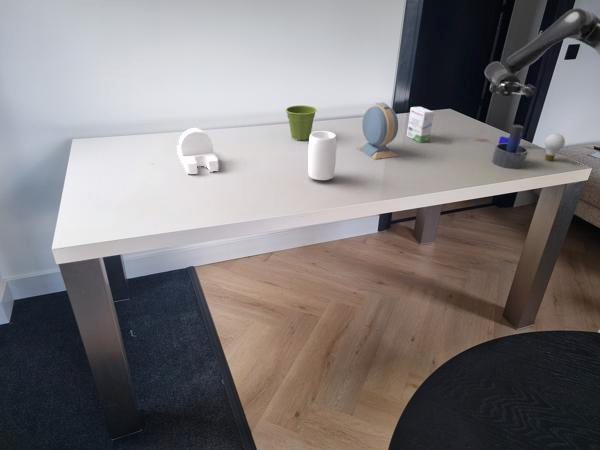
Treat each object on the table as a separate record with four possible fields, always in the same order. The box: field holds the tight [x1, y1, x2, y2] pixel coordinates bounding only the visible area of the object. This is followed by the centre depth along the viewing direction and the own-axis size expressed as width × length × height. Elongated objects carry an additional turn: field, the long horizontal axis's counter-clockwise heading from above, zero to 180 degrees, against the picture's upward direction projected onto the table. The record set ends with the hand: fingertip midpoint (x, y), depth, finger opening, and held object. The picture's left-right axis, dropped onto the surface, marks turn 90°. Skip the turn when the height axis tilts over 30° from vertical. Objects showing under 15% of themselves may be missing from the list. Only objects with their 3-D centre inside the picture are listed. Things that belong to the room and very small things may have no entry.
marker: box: [506, 124, 524, 153], centre depth 144 cm, size 3×3×13 cm
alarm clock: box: [356, 102, 399, 160], centre depth 152 cm, size 14×10×18 cm
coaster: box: [471, 137, 494, 144], centre depth 168 cm, size 8×8×1 cm
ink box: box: [406, 106, 435, 143], centre depth 167 cm, size 8×5×12 cm, turn 27°
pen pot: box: [491, 143, 529, 170], centre depth 146 cm, size 10×10×6 cm
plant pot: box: [285, 104, 318, 141], centre depth 165 cm, size 12×12×11 cm
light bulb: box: [544, 133, 566, 162], centre depth 149 cm, size 6×6×10 cm
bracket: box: [176, 127, 220, 174], centre depth 141 cm, size 19×10×11 cm, turn 23°
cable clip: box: [498, 132, 524, 145], centre depth 159 cm, size 12×4×6 cm, turn 132°
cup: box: [307, 130, 338, 181], centre depth 131 cm, size 8×8×14 cm
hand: (516, 93), depth 146 cm, fingers open, 8 cm apart
